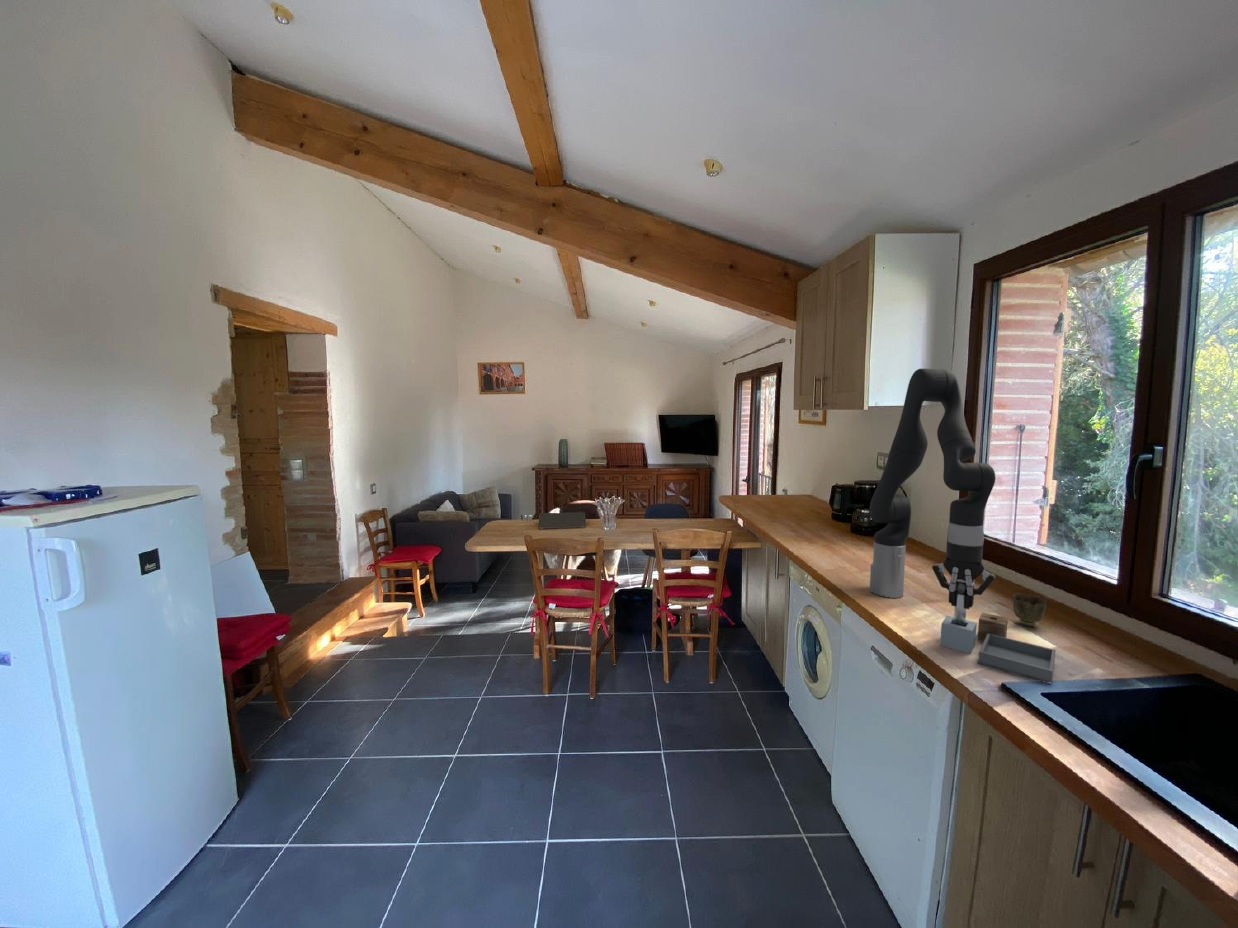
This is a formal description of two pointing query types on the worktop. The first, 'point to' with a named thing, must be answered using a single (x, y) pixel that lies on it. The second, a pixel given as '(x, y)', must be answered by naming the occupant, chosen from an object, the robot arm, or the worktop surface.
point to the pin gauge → (960, 603)
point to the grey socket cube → (958, 635)
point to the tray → (1018, 657)
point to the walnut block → (991, 626)
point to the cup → (1029, 609)
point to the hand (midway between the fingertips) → (960, 606)
